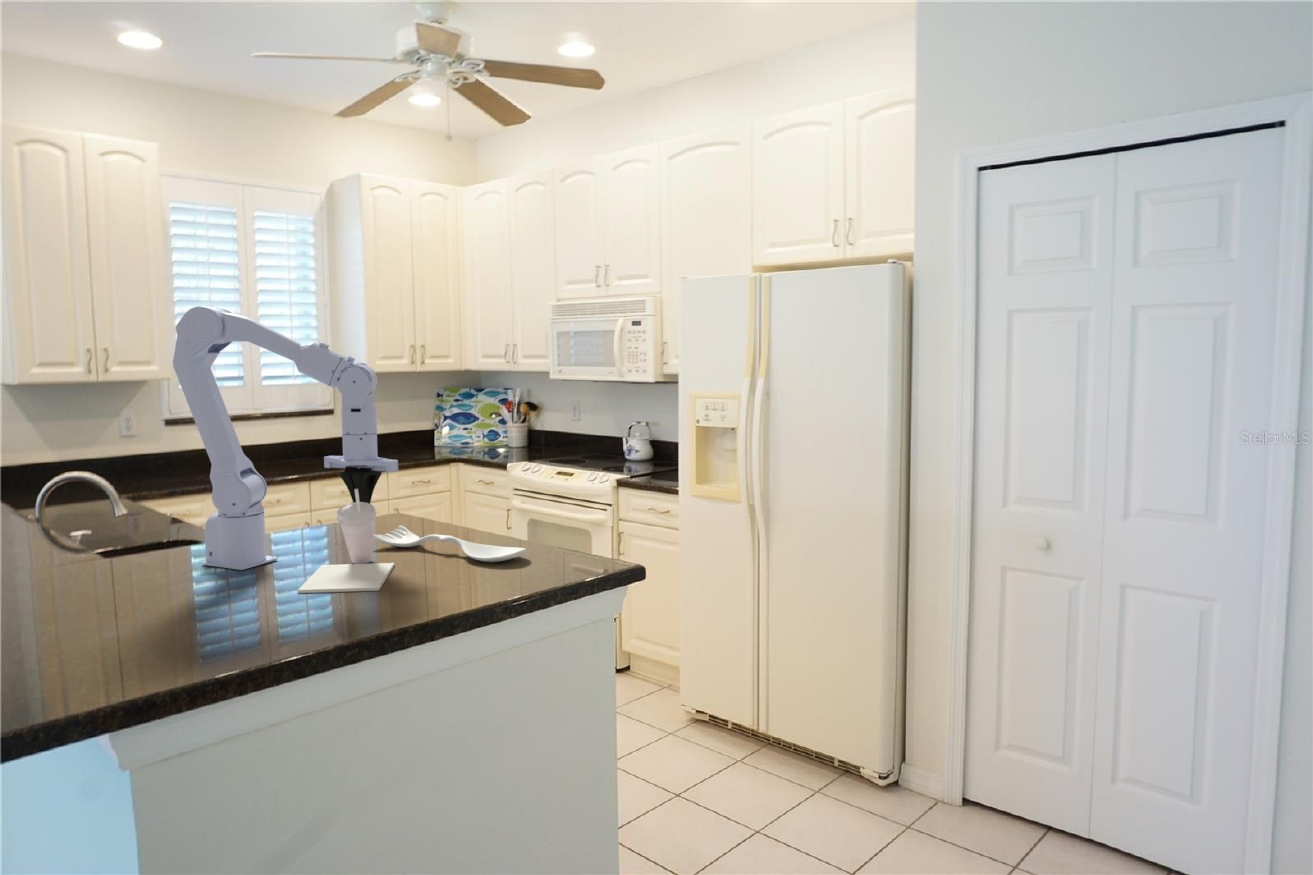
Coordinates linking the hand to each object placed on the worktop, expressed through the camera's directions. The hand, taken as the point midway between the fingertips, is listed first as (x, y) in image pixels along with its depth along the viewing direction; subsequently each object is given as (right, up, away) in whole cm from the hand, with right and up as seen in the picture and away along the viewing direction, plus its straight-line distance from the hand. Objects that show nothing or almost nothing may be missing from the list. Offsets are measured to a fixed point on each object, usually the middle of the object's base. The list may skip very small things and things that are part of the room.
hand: (362, 510), depth 151 cm
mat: (+2, -10, -11) cm, 15 cm away
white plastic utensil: (+14, -9, +6) cm, 18 cm away
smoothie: (0, -9, 0) cm, 9 cm away
